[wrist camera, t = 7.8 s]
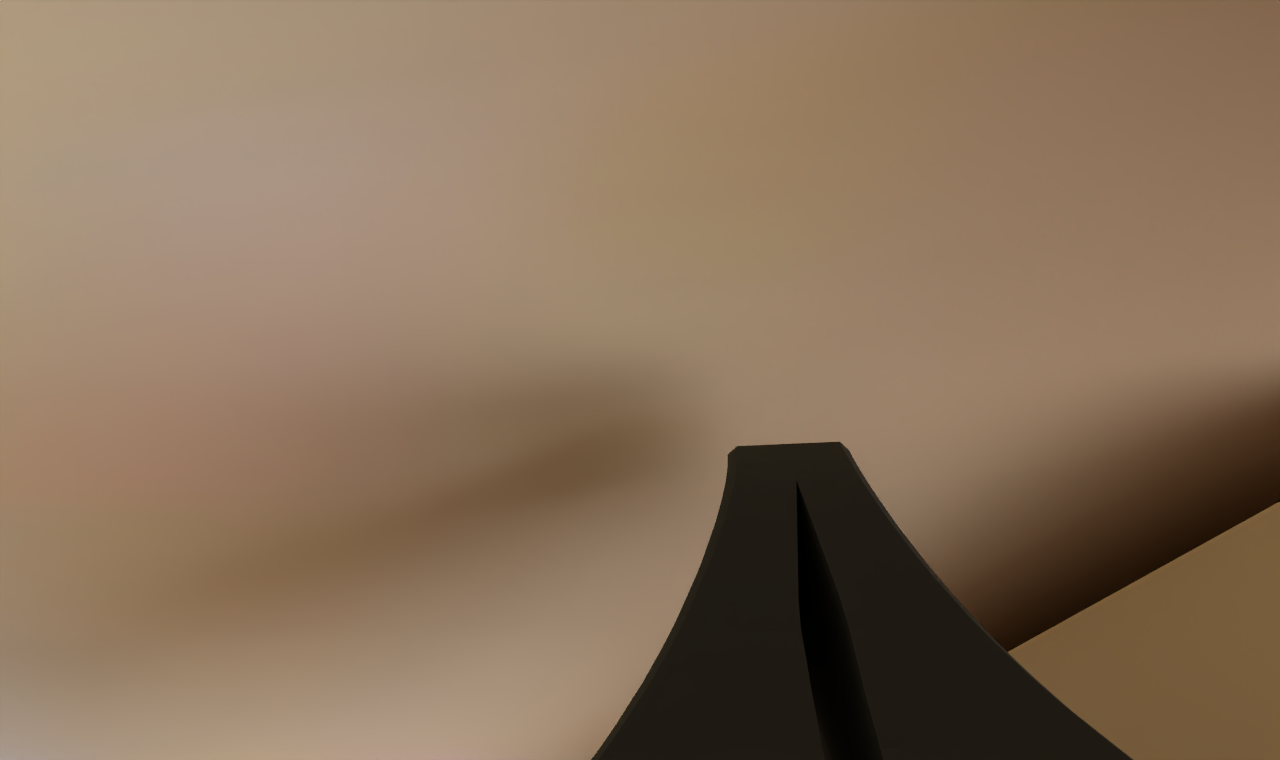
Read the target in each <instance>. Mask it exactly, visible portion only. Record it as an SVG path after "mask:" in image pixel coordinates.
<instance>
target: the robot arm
mask: <svg viewBox="0 0 1280 760" xmlns="http://www.w3.org/2000/svg"><path fill="white" fill-rule="evenodd" d="M591 760H1133V759H1132V758H1131V757H1129V756H1128V755H1127V754H1126V753H1124V752H1123V751H1122V750H1120V749H1119V748H1118V747H1117V746H1115V745H1114V744H1113V743H1112V742H1110V741H1109V740H1108V739H1107V738H1105V737H1104V736H1103V735H1102V734H1100V733H1099V732H1098V731H1096V730H1095V729H1094V728H1093V727H1091V726H1090V725H1089V724H1088V723H1086V722H1085V721H1084V720H1083V719H1081V718H1080V717H1079V716H1077V715H1076V714H1075V713H1074V712H1073V711H1071V710H1070V709H1069V708H1068V707H1067V706H1065V705H1064V704H1063V703H1062V702H1061V701H1060V700H1059V699H1058V698H1057V697H1055V696H1054V695H1053V694H1052V693H1051V692H1050V691H1049V690H1048V689H1046V688H1045V687H1044V686H1043V685H1042V684H1041V683H1040V682H1039V681H1037V680H1036V679H1035V678H1034V677H1033V676H1032V675H1031V674H1030V673H1029V672H1028V671H1027V670H1026V669H1025V668H1023V667H1022V666H1021V665H1020V664H1019V663H1018V662H1017V661H1016V660H1015V659H1014V658H1013V657H1012V656H1011V655H1010V654H1009V653H1008V652H1007V651H1006V650H1005V649H1004V648H1003V647H1002V646H1001V645H1000V644H999V643H998V642H997V641H996V640H995V639H994V638H993V637H992V636H991V635H990V634H989V633H988V632H987V631H986V630H985V629H984V628H983V627H982V626H981V625H980V624H979V623H978V622H977V621H976V619H975V618H974V617H973V616H972V615H971V614H970V613H969V612H968V611H967V610H966V608H965V607H964V606H963V605H962V604H961V603H960V602H959V601H958V599H957V598H956V597H955V596H954V595H953V594H952V593H951V592H950V591H949V589H948V588H947V587H946V586H945V585H944V584H943V582H942V581H941V580H940V579H939V578H938V576H937V575H936V574H935V573H934V572H933V570H932V569H931V568H930V567H929V566H928V564H927V563H926V562H925V561H924V559H923V558H922V557H921V555H920V554H919V553H918V552H917V550H916V549H915V548H914V546H913V545H912V544H911V543H910V541H909V540H908V539H907V537H906V536H905V535H904V534H903V532H902V531H901V530H900V528H899V527H898V526H897V524H896V523H895V521H894V520H893V519H892V517H891V516H890V515H889V513H888V512H887V510H886V509H885V507H884V506H883V504H882V503H881V502H880V500H879V499H878V497H877V496H876V494H875V493H874V491H873V490H872V488H871V487H870V485H869V484H868V482H867V481H866V479H865V477H864V476H863V474H862V472H861V471H860V469H859V467H858V466H857V464H856V462H855V461H854V459H853V457H852V455H851V453H850V451H849V450H848V449H847V448H846V447H845V446H844V445H843V444H842V443H840V442H824V443H801V444H779V445H756V446H737V447H736V448H735V449H734V450H732V451H731V452H730V453H729V454H728V469H727V477H726V483H725V488H724V493H723V497H722V501H721V505H720V509H719V512H718V516H717V519H716V523H715V526H714V529H713V531H712V534H711V537H710V540H709V543H708V546H707V549H706V551H705V554H704V557H703V560H702V563H701V565H700V568H699V570H698V573H697V575H696V577H695V580H694V582H693V584H692V587H691V589H690V591H689V593H688V596H687V598H686V600H685V602H684V605H683V607H682V609H681V611H680V614H679V616H678V618H677V620H676V622H675V624H674V626H673V628H672V630H671V632H670V634H669V636H668V638H667V640H666V642H665V644H664V646H663V648H662V649H661V651H660V653H659V655H658V657H657V659H656V660H655V662H654V664H653V666H652V667H651V669H650V671H649V673H648V674H647V676H646V678H645V680H644V681H643V683H642V685H641V686H640V688H639V689H638V691H637V693H636V694H635V696H634V697H633V699H632V700H631V702H630V704H629V705H628V707H627V708H626V710H625V712H624V713H623V715H622V716H621V718H620V719H619V721H618V723H617V724H616V726H615V727H614V728H613V730H612V731H611V733H610V734H609V736H608V737H607V739H606V740H605V742H604V743H603V744H602V746H601V747H600V749H599V750H598V751H597V753H596V754H595V755H594V757H593V758H592V759H591Z"/></svg>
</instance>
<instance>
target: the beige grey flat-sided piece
mask: <svg viewBox="0 0 1280 760" xmlns="http://www.w3.org/2000/svg"><path fill="white" fill-rule="evenodd" d="M1008 653H1009V654H1010V655H1011V656H1012V657H1013V658H1014V659H1015V660H1016V661H1017V662H1018V663H1019V664H1020V665H1021V666H1022V667H1023V668H1025V669H1026V670H1027V671H1028V672H1029V673H1030V674H1031V675H1032V676H1033V677H1034V678H1035V679H1036V680H1037V681H1039V682H1040V683H1041V684H1042V685H1043V686H1044V687H1045V688H1046V689H1048V690H1049V691H1050V692H1051V693H1052V694H1053V695H1054V696H1055V697H1057V698H1058V699H1059V700H1060V701H1061V702H1062V703H1063V704H1064V705H1065V706H1067V707H1068V708H1069V709H1070V710H1071V711H1073V712H1074V713H1075V714H1076V715H1077V716H1079V717H1080V718H1081V719H1083V720H1084V721H1085V722H1086V723H1088V724H1089V725H1090V726H1091V727H1093V728H1094V729H1095V730H1096V731H1098V732H1099V733H1100V734H1102V735H1103V736H1104V737H1105V738H1107V739H1108V740H1109V741H1110V742H1112V743H1113V744H1114V745H1115V746H1117V747H1118V748H1119V749H1120V750H1122V751H1123V752H1124V753H1126V754H1127V755H1128V756H1129V757H1131V758H1132V759H1133V760H1280V502H1278V503H1276V504H1274V505H1273V506H1271V507H1269V508H1267V509H1265V510H1263V511H1262V512H1260V513H1258V514H1256V515H1254V516H1253V517H1251V518H1249V519H1247V520H1245V521H1244V522H1242V523H1240V524H1238V525H1236V526H1235V527H1233V528H1231V529H1229V530H1227V531H1225V532H1224V533H1222V534H1220V535H1218V536H1216V537H1215V538H1213V539H1211V540H1209V541H1207V542H1206V543H1204V544H1202V545H1200V546H1198V547H1197V548H1195V549H1193V550H1191V551H1189V552H1188V553H1186V554H1184V555H1182V556H1180V557H1178V558H1177V559H1175V560H1173V561H1171V562H1169V563H1168V564H1166V565H1164V566H1162V567H1160V568H1159V569H1157V570H1155V571H1153V572H1151V573H1150V574H1148V575H1146V576H1144V577H1142V578H1141V579H1139V580H1137V581H1135V582H1133V583H1131V584H1130V585H1128V586H1126V587H1124V588H1122V589H1121V590H1119V591H1117V592H1115V593H1113V594H1112V595H1110V596H1108V597H1106V598H1104V599H1103V600H1101V601H1099V602H1097V603H1095V604H1094V605H1092V606H1090V607H1088V608H1086V609H1084V610H1083V611H1081V612H1079V613H1077V614H1075V615H1074V616H1072V617H1070V618H1068V619H1066V620H1065V621H1063V622H1061V623H1059V624H1057V625H1056V626H1054V627H1052V628H1050V629H1048V630H1046V631H1045V632H1043V633H1041V634H1039V635H1037V636H1036V637H1034V638H1032V639H1030V640H1028V641H1027V642H1025V643H1023V644H1021V645H1019V646H1018V647H1016V648H1014V649H1012V650H1010V651H1009V652H1008Z"/></svg>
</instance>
